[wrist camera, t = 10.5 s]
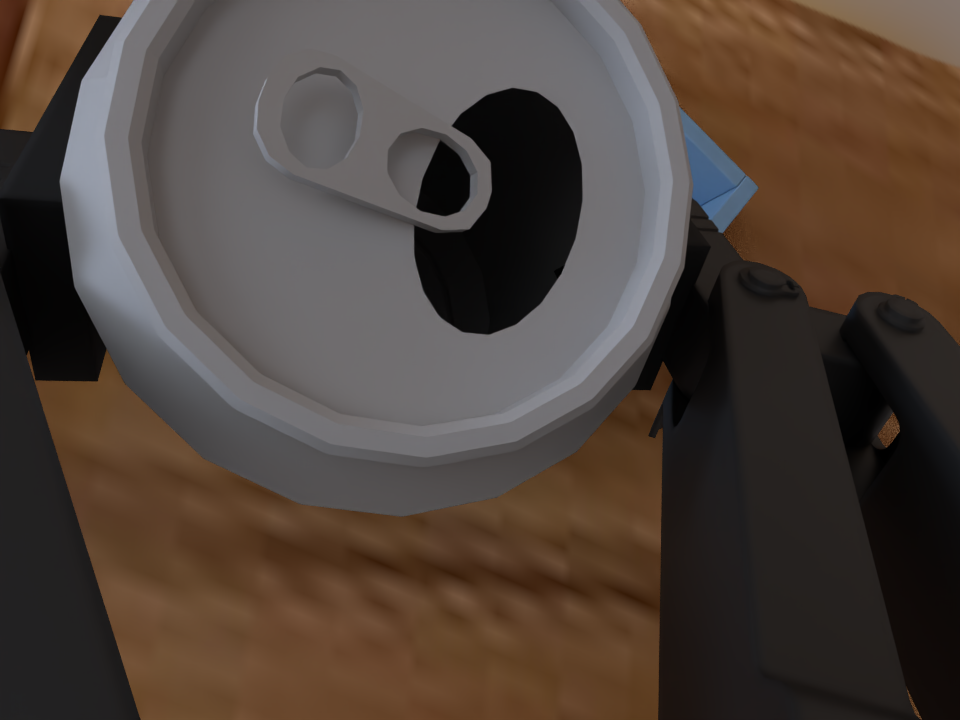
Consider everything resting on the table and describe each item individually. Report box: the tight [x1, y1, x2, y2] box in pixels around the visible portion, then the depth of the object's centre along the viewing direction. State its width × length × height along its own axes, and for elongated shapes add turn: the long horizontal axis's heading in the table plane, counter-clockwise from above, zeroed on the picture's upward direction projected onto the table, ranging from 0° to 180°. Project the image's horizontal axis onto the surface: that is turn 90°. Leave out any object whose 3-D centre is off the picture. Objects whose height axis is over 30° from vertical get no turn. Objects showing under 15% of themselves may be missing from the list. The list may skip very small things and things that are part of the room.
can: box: [60, 0, 693, 517], centre depth 14 cm, size 8×8×12 cm
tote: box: [679, 107, 759, 233], centre depth 34 cm, size 17×16×4 cm
